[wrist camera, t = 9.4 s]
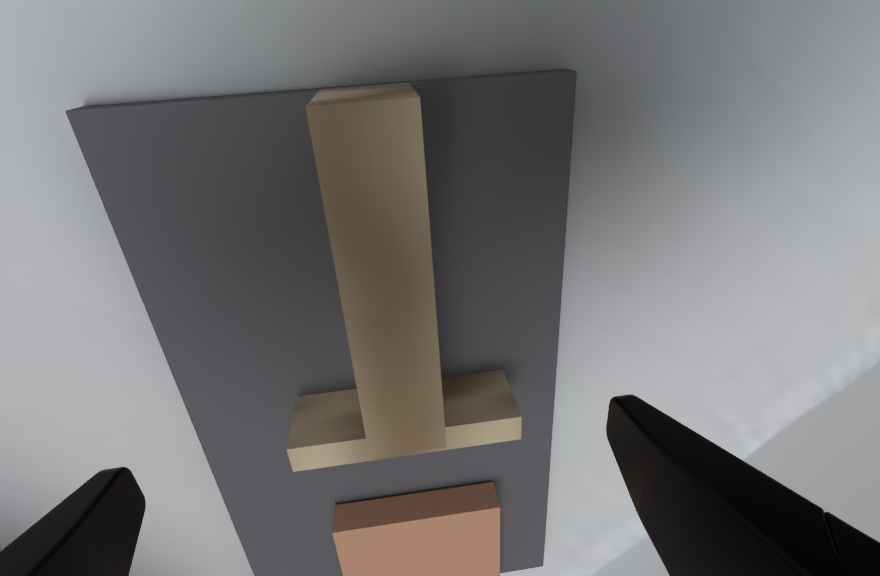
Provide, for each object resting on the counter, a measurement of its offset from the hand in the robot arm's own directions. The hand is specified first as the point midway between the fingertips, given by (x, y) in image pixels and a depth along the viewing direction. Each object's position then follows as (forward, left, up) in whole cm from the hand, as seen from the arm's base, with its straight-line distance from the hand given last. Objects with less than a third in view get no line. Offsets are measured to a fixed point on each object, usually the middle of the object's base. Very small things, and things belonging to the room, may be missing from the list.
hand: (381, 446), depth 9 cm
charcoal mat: (+1, +8, -11) cm, 14 cm away
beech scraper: (0, +1, -10) cm, 10 cm away
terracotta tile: (0, +13, -9) cm, 16 cm away
